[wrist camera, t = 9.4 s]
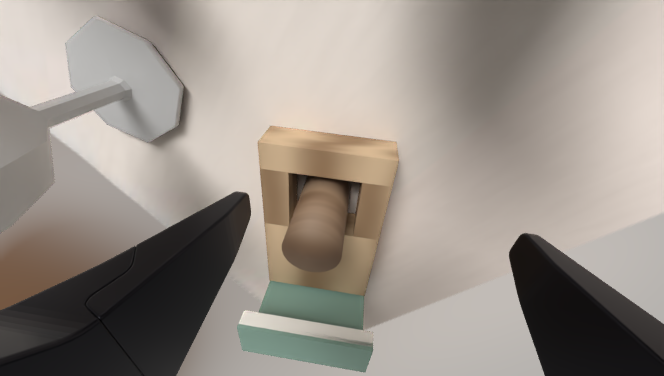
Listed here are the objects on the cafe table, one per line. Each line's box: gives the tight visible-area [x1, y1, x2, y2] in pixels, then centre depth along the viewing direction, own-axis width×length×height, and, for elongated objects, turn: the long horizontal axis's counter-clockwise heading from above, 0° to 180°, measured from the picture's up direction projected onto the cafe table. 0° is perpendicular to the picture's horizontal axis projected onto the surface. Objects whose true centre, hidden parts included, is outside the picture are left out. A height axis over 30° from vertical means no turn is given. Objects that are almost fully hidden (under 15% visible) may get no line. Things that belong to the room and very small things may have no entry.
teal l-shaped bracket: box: [237, 281, 373, 372], centre depth 27 cm, size 11×4×9 cm, turn 85°
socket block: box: [258, 126, 399, 296], centre depth 25 cm, size 10×16×3 cm, turn 175°
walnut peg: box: [282, 175, 351, 272], centre depth 21 cm, size 4×4×8 cm
